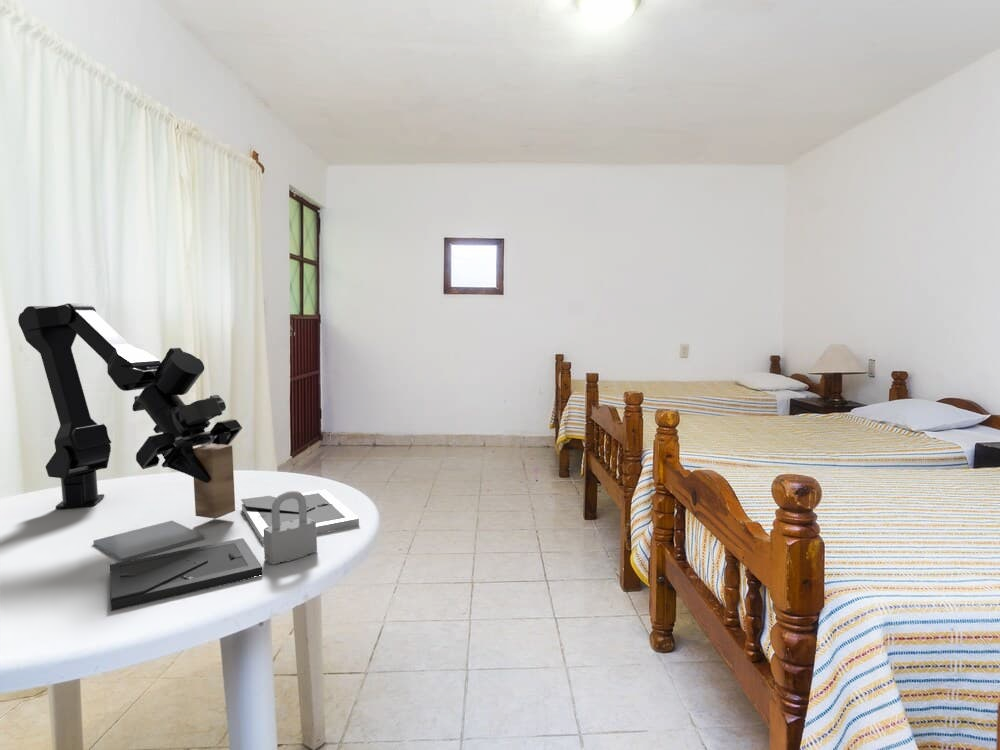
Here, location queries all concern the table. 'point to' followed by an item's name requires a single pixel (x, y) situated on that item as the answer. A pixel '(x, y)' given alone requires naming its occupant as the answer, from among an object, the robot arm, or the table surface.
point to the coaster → (147, 540)
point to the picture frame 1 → (180, 572)
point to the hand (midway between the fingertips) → (220, 477)
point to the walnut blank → (215, 481)
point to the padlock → (289, 532)
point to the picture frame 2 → (318, 509)
